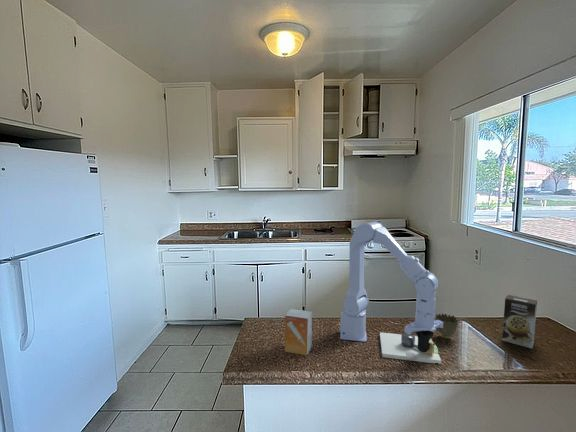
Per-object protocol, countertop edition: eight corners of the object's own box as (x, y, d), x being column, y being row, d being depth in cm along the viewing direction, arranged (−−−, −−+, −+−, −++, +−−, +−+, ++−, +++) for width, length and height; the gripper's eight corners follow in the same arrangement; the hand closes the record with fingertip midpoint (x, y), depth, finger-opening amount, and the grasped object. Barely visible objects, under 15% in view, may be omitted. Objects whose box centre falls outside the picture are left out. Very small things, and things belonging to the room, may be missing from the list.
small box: (284, 352, 107) (284, 315, 106) (289, 343, 113) (290, 308, 112) (307, 356, 104) (307, 318, 103) (311, 347, 110) (312, 311, 109)
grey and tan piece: (398, 343, 110) (399, 332, 110) (405, 340, 113) (406, 329, 112) (429, 357, 101) (429, 345, 101) (436, 353, 104) (436, 341, 103)
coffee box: (501, 340, 116) (504, 298, 114) (504, 334, 120) (507, 293, 119) (532, 349, 109) (535, 304, 108) (534, 342, 114) (537, 299, 113)
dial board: (382, 359, 103) (382, 355, 102) (379, 335, 120) (379, 331, 119) (444, 367, 98) (444, 362, 98) (432, 341, 115) (432, 337, 115)
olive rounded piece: (459, 343, 113) (460, 322, 113) (437, 341, 115) (438, 320, 114) (453, 334, 121) (454, 314, 120) (432, 332, 122) (433, 312, 122)
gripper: (417, 318, 96) (414, 361, 97) (452, 312, 101) (449, 353, 102) (400, 310, 102) (398, 350, 104) (434, 305, 108) (432, 342, 109)
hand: (422, 350), depth 103 cm, fingers closed, pressing on grey and tan piece
